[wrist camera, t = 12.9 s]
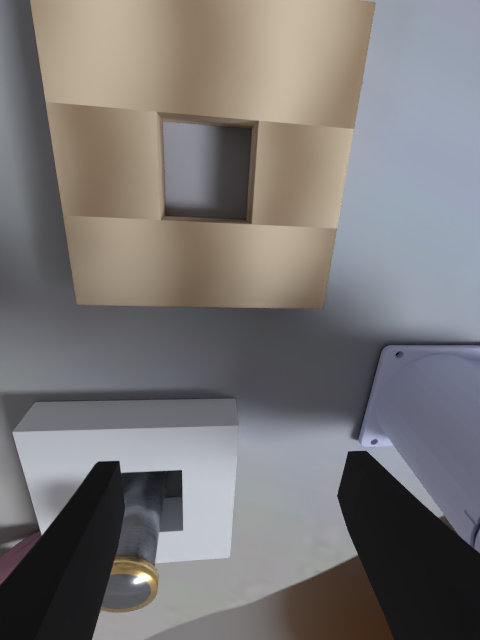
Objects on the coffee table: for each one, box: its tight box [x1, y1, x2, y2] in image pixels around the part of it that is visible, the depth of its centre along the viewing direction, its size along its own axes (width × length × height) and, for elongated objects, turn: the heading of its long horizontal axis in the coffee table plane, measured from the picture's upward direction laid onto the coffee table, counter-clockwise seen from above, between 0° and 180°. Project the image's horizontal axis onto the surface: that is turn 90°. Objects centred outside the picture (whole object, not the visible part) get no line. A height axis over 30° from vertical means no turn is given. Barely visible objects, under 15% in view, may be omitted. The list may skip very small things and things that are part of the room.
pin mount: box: [30, 0, 376, 309], centre depth 14 cm, size 12×12×2 cm
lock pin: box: [100, 471, 167, 612], centre depth 19 cm, size 4×4×7 cm
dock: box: [12, 398, 239, 563], centre depth 21 cm, size 12×12×2 cm
